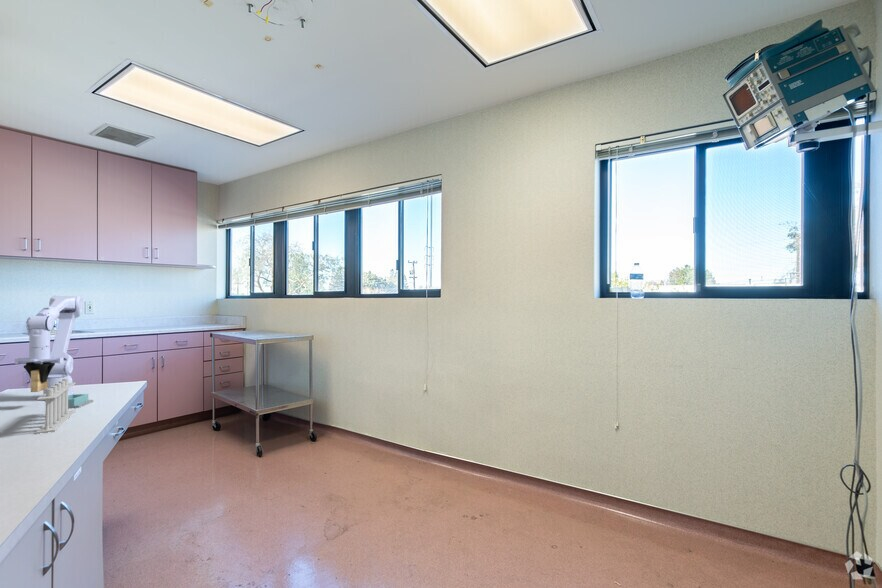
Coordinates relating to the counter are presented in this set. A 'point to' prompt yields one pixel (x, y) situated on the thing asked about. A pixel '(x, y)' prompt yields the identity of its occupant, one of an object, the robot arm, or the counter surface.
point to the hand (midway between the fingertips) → (39, 382)
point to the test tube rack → (56, 406)
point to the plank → (37, 382)
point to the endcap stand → (78, 400)
